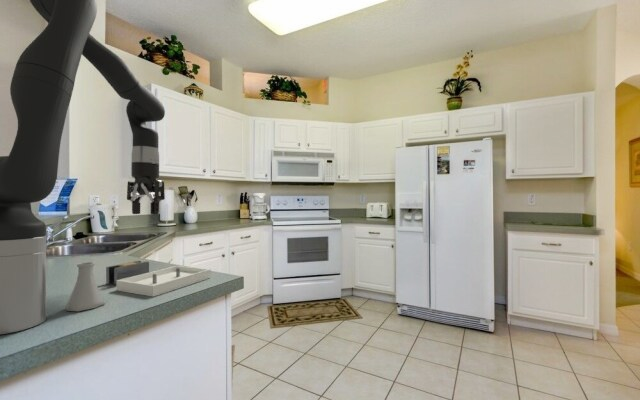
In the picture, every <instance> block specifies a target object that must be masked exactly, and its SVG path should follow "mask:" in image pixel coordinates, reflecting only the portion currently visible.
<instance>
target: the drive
mask: <svg viewBox="0 0 640 400" xmlns="http://www.w3.org/2000/svg"><path fill="white" fill-rule="evenodd" d="M149 272H150V262H149V261H142V260H135V261H131V262H124V263H120V264H115V265H109V266H106V267H105V273H106V274H105V285H111V284H114V286H116V280H120V279H124V278H129V277H133V276H137V275H141V274H145V273H149Z"/></svg>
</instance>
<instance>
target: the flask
mask: <svg viewBox="0 0 640 400" xmlns="http://www.w3.org/2000/svg"><path fill="white" fill-rule="evenodd" d="M76 266H77V268H78V273H77V274H78V275H77V278H76V281H75V283H74V287H73V289H72V292H71V294H70V296H69V299H68V301H67V303H66V305H65V309H66V311H67V312H69V311H70V312H81V311H86V310H91V309H95V308H98V307H100V306H103V305H106V303H105V300H104V298H103V296H102V293H101V292H100V289H99V287H98V285H97V283H96V282H97V281H96V280H95V275H94V269H93V268H94V266H95V262H94V261H93V262H90V261H89V262H81V263H77V264H76Z"/></svg>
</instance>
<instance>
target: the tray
mask: <svg viewBox="0 0 640 400" xmlns="http://www.w3.org/2000/svg"><path fill="white" fill-rule="evenodd" d="M208 278H209V279H211V268H201V267H193V266H192V267H191V266H183V265H174V266H169V267H166V268H162V269H158V270H154V271H149V273H145V274H141V275H137V276H133V277H129V278H124V279H120V280H116V285H115V287H116V291H118V292H124V293H125V292H126V293H131V294H137V295H141V296H147V297H156V296H159V295H163V294H165V293H168V292H172V291H174V290H179V289H181V288H184V287H187V286H190V285H192V284H193V285H194V284H196V283H200V282H202V281H206V280H208Z"/></svg>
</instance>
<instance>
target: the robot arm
mask: <svg viewBox="0 0 640 400" xmlns="http://www.w3.org/2000/svg"><path fill="white" fill-rule="evenodd" d="M29 2H30V4H31V5H32V7H33V8H34V10H35V11H36V12H37V13H38V14H39V16H41V17H42V18H43V20H45V21H46V22H47V26H45V28H44V29H43V30H42V31H41V33H39V35H37V37H35V39H34V40H32V41H31V43H30V44H28V46H27V47H25V49H24V50H23V52H22V53H21V54H20V56H19V57H18V60H17V61H16V64H15V67H14V71H13V75H12V78H11V82H10V86H9V87H10V88H9V89H10V99H11V103H12V106H13V108H14V111H15V114H16V118H17V131H16V135H15V138H14V141H13V145H12V147H11V150H10V152H9V154H8V155H4V156H3V155H2V156H1V155H0V335H6V334H11V333H15V332H19V331H24V330H27V329H30V328H32V327H35V326H38V325H40V324H43V323H44V322H45V321H47V311H48V309H47V227H46V223H45V222H44V221H42V220H41V219H39V218H37V216H36V215H35V214H34V213H33V211H32V203H33V204H34V203H37V202H40V201H41V202H42V201H43V200H45V199H46V198H48V196H50V195H51V194H52V192H53V190H54V188H55V187H56V182H57V178H58V170H59V169H58V168H59V159H60V150H61V141H62V135H63V132H64V127H65V123H66V118H67V113H68V110H69V106H70V104H71V103H70V102H71V101H72V100H71V99H72V95H73V91H74V88H75V87H74V86H75V83H76V82H75V81H76V77H77V73H78V68H79V66H80V62H81V58H82V56H83V57H84V58H85V59H86V60H87V61H88V62H89V63H90V64H91V65H92V66H93V67H94V68H95V69H96V70H97V71H98V73H100V74H101V76H102V77H103V78H104V79H105V81H106V82H107V84H108V85H110V86H111V88H112V89H113V90H114V92H116V94H117V95H118V96H119V97H120V98H121V99H123V100H127V101H128V102H127V104H126V116H127V119H128V122H129V126H130V130H131V133H132V149H131V167H130V170H131V172H130V173H131V177H132V178H134V181H131V180H130V181H129V180H128V182H127V185H126V186H127V191H126V200H127V201H129V202H131V212H132V215H139V214H140V215H141V200H142V198H144V197H148V198H149V201H150V215H153V216H154V215H158V214H159V212H160V202H161V201H163V200H165V198H166V196H165V194H166V193H165V181H164V180H160V179H158V178H160V152H159V133H158V132H157V131H156V130H155V129H153V128H149V127H148V126H147V122H148V123H151V122H159V121H162V120H163V119H164V117H165V115H166V113H165V112H166V110H165V107H164V105H163V103H162V101H161V100H160V99H159V98H158V97H157V96H156V95H155V94H154V93H153V92H151V91H150V90H149V88H147V87H146V86H145V85H144V84H143V83H141V82H140V80H139V79H138V77H137V76H136V74H135V73H134V72H133V70H132V69H131V68H130V66H129V65H128V64H127V63H126V62H125V61H124V59H122V58H121V57H120V56H119V55H117V54H116V53H115V52H113V51H112V50H111V49H109V48H108V47H106V46H105V45H104V44H102V42H100V41H98V40H97V39H96V38H95V37H94V36H93V35H91V34H90V32H91V31H92V28H93V25H94V23H95V21H96V18H97V10H98V9H97V7H98V6H97V0H29ZM157 179H158V180H157Z"/></svg>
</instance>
